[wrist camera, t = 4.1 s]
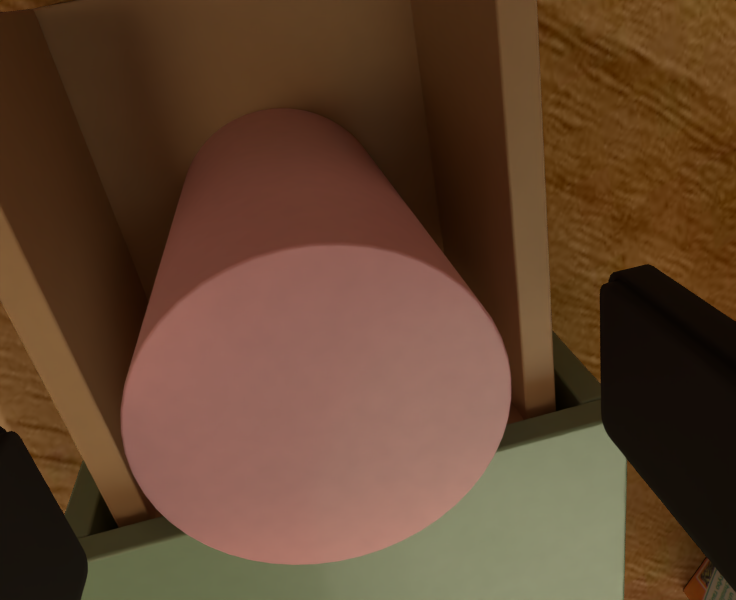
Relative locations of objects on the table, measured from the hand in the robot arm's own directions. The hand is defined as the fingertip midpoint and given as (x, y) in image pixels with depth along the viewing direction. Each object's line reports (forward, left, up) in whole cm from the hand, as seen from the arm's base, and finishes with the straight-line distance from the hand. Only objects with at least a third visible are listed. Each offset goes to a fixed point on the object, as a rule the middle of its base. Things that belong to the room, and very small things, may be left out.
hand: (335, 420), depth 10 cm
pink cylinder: (0, 0, -10) cm, 10 cm away
